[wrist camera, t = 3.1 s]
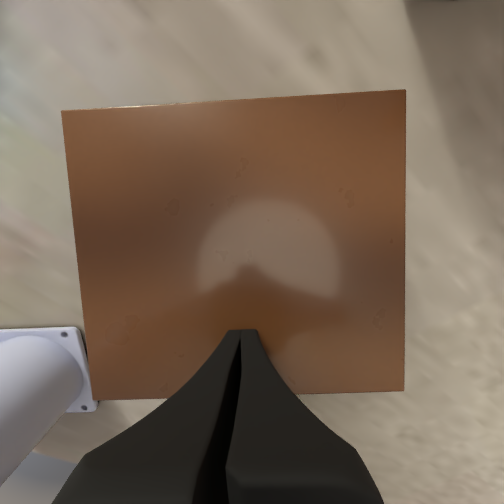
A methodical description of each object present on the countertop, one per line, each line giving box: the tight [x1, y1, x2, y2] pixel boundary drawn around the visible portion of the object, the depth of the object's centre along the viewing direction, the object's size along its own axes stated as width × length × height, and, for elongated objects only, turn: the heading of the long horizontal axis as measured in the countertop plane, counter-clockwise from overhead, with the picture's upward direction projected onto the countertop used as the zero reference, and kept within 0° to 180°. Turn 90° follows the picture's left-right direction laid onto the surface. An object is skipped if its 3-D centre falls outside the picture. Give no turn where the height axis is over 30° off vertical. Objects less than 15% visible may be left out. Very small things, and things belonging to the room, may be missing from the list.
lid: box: [61, 89, 406, 401], centre depth 11 cm, size 13×15×1 cm
